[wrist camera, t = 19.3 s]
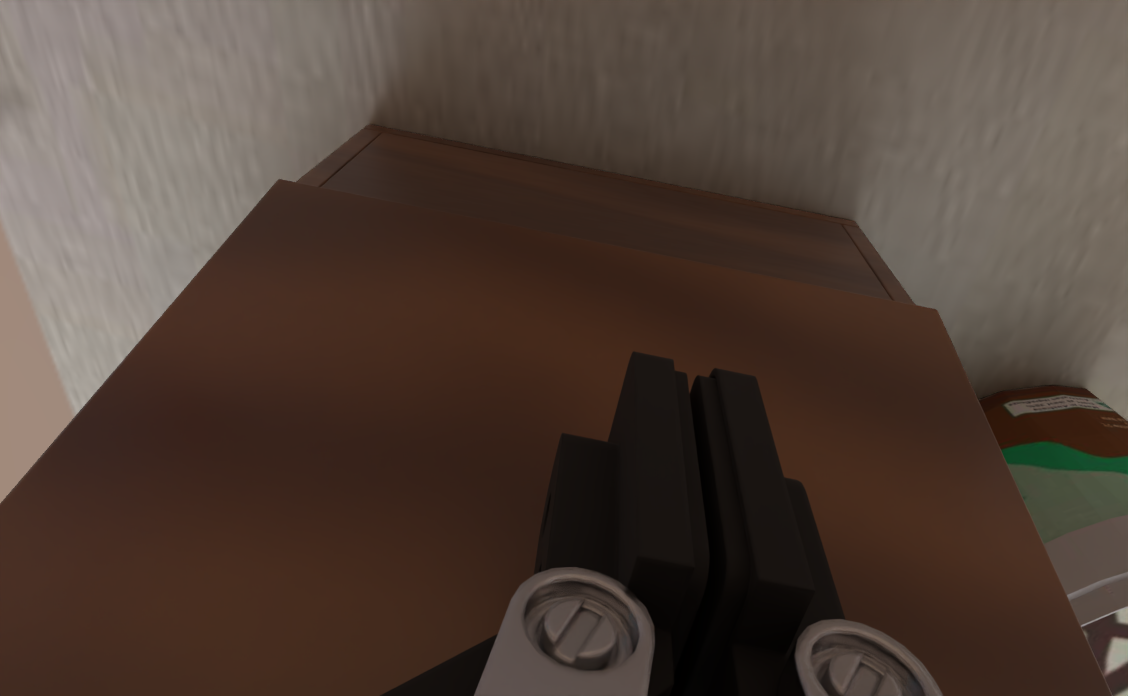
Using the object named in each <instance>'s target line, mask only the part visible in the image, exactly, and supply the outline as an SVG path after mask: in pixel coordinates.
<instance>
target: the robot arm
mask: <svg viewBox="0 0 1128 696" xmlns="http://www.w3.org/2000/svg"><path fill="white" fill-rule="evenodd" d="M380 696H943V694H942V692H941V691H940V689H939V687H938V685H937V683H936V682H935V680H934V679H933V677H932V676H931V675H930V673H929V672H928V670H927V669H926V668H925V666H924V665H923V664H922V662H921V661H920V660H919V659H917V658H916V657H915V656H914V655H913V654H912V653H911V652H910V651H909V650H908V649H907V648H906V647H905V646H903V645H902V644H900V643H899V642H897V641H896V640H894V639H893V638H891V637H890V636H888V635H887V634H885V633H883V632H881V631H879V630H877V629H874V628H872V627H869V626H867V625H865V624H862V623H858V622H853V621H848V620H846V619H845V616H844V613H843V609H842V606H841V603H840V600H839V596H838V593H837V590H836V587H835V584H834V580H833V577H832V574H831V571H830V567H829V564H828V561H827V558H826V554H825V551H824V548H823V545H822V541H821V538H820V535H819V532H818V528H817V525H816V522H815V519H814V515H813V512H812V509H811V506H810V502H809V499H808V496H807V493H806V490H805V488H804V486H803V484H802V482H800V481H798V480H796V479H791V478H786V477H784V475H783V472H782V468H781V464H780V461H779V457H778V453H777V450H776V446H775V443H774V439H773V435H772V432H771V428H770V425H769V421H768V417H767V414H766V410H765V407H764V403H763V399H762V396H761V392H760V388H759V385H758V381H757V379H756V377H755V376H752V375H747V374H742V373H738V372H733V371H728V370H723V369H718V368H714V369H713V370H712V371H711V373H710V375H709V377H705V376H700V375H697V376H696V378H695V379H694V382H693V385H692V388H691V391H690V394H689V386H688V378H687V373H685V372H680V371H676V370H675V368H674V361H673V359H669V358H664V357H659V356H654V355H649V354H644V353H639V352H635V351H633V352H632V354H631V357H630V360H629V363H628V367H627V370H626V374H625V378H624V382H623V385H622V389H621V393H620V397H619V400H618V404H617V408H616V412H615V415H614V419H613V423H612V427H611V431H610V434H609V438H608V442H606V441H601V440H596V439H591V438H586V437H581V436H576V435H571V434H566V433H562V434H561V437H560V440H559V444H558V448H557V452H556V456H555V461H554V465H553V469H552V474H551V478H550V483H549V487H548V492H547V497H546V502H545V507H544V512H543V517H542V523H541V528H540V534H539V541H538V548H537V555H536V562H535V569H534V575H533V576H532V577H530V578H529V579H528V580H526V581H525V582H523V583H522V584H521V585H520V586H519V588H518V589H517V591H516V593H515V594H514V596H513V597H512V599H511V601H510V604H509V606H508V609H507V611H506V614H505V617H504V619H503V622H502V624H501V627H500V630H499V632H498V634H496V635H494V636H492V637H490V638H488V639H487V640H485V641H483V642H481V643H479V644H477V645H475V646H473V647H471V648H469V649H468V650H466V651H464V652H462V653H460V654H458V655H456V656H454V657H452V658H450V659H448V660H447V661H445V662H443V663H441V664H439V665H437V666H435V667H433V668H431V669H429V670H428V671H426V672H424V673H422V674H420V675H418V676H416V677H414V678H412V679H410V680H408V681H407V682H405V683H403V684H401V685H399V686H397V687H395V688H393V689H391V690H389V691H388V692H386V693H384V694H382V695H380Z"/></svg>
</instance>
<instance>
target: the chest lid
mask: <svg viewBox="0 0 1128 696" xmlns="http://www.w3.org/2000/svg"><path fill="white" fill-rule="evenodd" d="M633 351H635V352H639V353H644V354H649V355H654V356H659V357H664V358H669V359H673V361H674V368H675V370H676V371H680V372H685V373H687V378H688V386H689V394H690V391H691V388H692V385H693V382H694V379H695V378H696V376H697V375H700V376H705V377H709V375H710V373H711V371H712V370H713V369H714V368H718V369H723V370H728V371H733V372H738V373H742V374H747V375H752V376H755V377H756V379H757V381H758V385H759V388H760V392H761V396H762V399H763V403H764V407H765V410H766V414H767V417H768V421H769V425H770V428H771V432H772V435H773V439H774V443H775V446H776V450H777V453H778V457H779V461H780V464H781V468H782V472H783V475H784V477H786V478H791V479H796V480H798V481H800V482H802V484H803V486H804V488H805V490H806V493H807V496H808V499H809V502H810V506H811V509H812V512H813V515H814V519H815V522H816V525H817V528H818V532H819V535H820V538H821V541H822V545H823V548H824V551H825V554H826V558H827V561H828V564H829V567H830V571H831V574H832V577H833V580H834V584H835V587H836V590H837V593H838V596H839V600H840V603H841V606H842V609H843V613H844V616H845V619H846V620H848V621H853V622H858V623H862V624H865V625H867V626H869V627H872V628H874V629H877V630H879V631H881V632H883V633H885V634H887V635H888V636H890V637H891V638H893V639H894V640H896V641H897V642H899V643H900V644H902V645H903V646H905V647H906V648H907V649H908V650H909V651H910V652H911V653H912V654H913V655H914V656H915V657H916V658H917V659H919V660H920V661H921V662H922V664H923V665H924V666H925V668H926V669H927V670H928V672H929V673H930V675H931V676H932V677H933V679H934V680H935V682H936V683H937V685H938V687H939V689H940V691H941V692H942V694H943V696H1113V695H1112V693H1111V691H1110V689H1109V687H1108V684H1107V682H1106V680H1105V678H1104V676H1103V673H1102V671H1101V669H1100V667H1099V665H1098V662H1097V660H1096V658H1095V656H1094V654H1093V651H1092V649H1091V647H1090V645H1089V643H1088V640H1087V638H1086V636H1085V634H1084V632H1083V629H1082V627H1081V625H1080V623H1079V621H1078V618H1077V616H1076V614H1075V612H1074V610H1073V608H1072V605H1071V603H1070V601H1069V599H1068V597H1067V594H1066V592H1065V590H1064V588H1063V586H1062V583H1061V581H1060V579H1059V577H1058V575H1057V572H1056V570H1055V568H1054V566H1053V564H1052V561H1051V559H1050V557H1049V555H1048V553H1047V550H1046V548H1045V546H1044V544H1043V542H1042V539H1041V537H1040V535H1039V533H1038V531H1037V528H1036V526H1035V524H1034V522H1033V520H1032V517H1031V515H1030V513H1029V511H1028V509H1027V506H1026V504H1025V502H1024V500H1023V498H1022V495H1021V493H1020V491H1019V489H1018V487H1017V484H1016V482H1015V480H1014V478H1013V476H1012V473H1011V471H1010V469H1009V467H1008V465H1007V462H1006V460H1005V458H1004V456H1003V454H1002V451H1001V449H1000V447H999V445H998V443H997V440H996V438H995V436H994V434H993V432H992V429H991V427H990V425H989V423H988V421H987V418H986V416H985V414H984V412H983V410H982V407H981V405H980V403H979V401H978V399H977V396H976V394H975V392H974V390H973V388H972V385H971V383H970V381H969V379H968V377H967V374H966V372H965V370H964V368H963V366H962V363H961V361H960V359H959V357H958V355H957V352H956V350H955V348H954V346H953V344H952V341H951V339H950V337H949V335H948V333H947V330H946V328H945V326H944V324H943V322H942V319H941V317H940V315H939V313H938V311H937V310H936V309H932V308H927V307H922V306H917V305H912V304H907V303H902V302H897V301H892V300H887V299H882V298H877V297H871V296H866V295H861V294H856V293H851V292H846V291H841V290H836V289H831V288H826V287H821V286H816V285H811V284H806V283H801V282H796V281H791V280H786V279H781V278H776V277H771V276H766V275H761V274H756V273H751V272H745V271H740V270H735V269H730V268H725V267H720V266H715V265H710V264H705V263H700V262H695V261H690V260H685V259H680V258H675V257H670V256H665V255H660V254H655V253H650V252H645V251H640V250H635V249H630V248H625V247H619V246H614V245H609V244H604V243H599V242H594V241H589V240H584V239H579V238H574V237H569V236H564V235H559V234H554V233H549V232H544V231H539V230H534V229H529V228H524V227H519V226H514V225H509V224H504V223H499V222H494V221H488V220H483V219H478V218H473V217H468V216H463V215H458V214H453V213H448V212H443V211H438V210H433V209H428V208H423V207H418V206H413V205H408V204H403V203H398V202H393V201H388V200H383V199H378V198H373V197H368V196H362V195H357V194H352V193H347V192H342V191H337V190H332V189H327V188H322V187H317V186H312V185H307V184H302V183H297V182H292V181H287V180H282V179H279V180H277V182H276V183H275V184H274V185H273V186H272V187H271V189H270V190H269V191H268V192H267V193H266V194H265V196H264V197H263V198H262V199H261V200H260V201H259V203H258V204H257V205H256V206H255V207H254V208H253V210H252V211H251V212H250V213H249V214H248V215H247V217H246V218H245V219H244V220H243V221H242V222H241V224H240V225H239V226H238V227H237V228H236V229H235V231H234V232H233V233H232V234H231V235H230V236H229V238H228V239H227V240H226V241H225V242H224V243H223V245H222V246H221V247H220V248H219V249H218V250H217V252H216V253H215V254H214V255H213V256H212V257H211V259H210V260H209V261H208V262H207V263H206V264H205V266H204V267H203V268H202V269H201V270H200V271H199V273H198V274H197V275H196V276H195V277H194V278H193V280H192V281H191V282H190V283H189V284H188V285H187V287H186V288H185V289H184V290H183V291H182V292H181V294H180V295H179V296H178V297H177V298H176V299H175V301H174V302H173V303H172V304H171V305H170V306H169V308H168V309H167V310H166V311H165V312H164V313H163V315H162V316H161V317H160V318H159V319H158V320H157V322H156V323H155V324H154V325H153V326H152V327H151V329H150V330H149V331H148V332H147V333H146V334H145V336H144V337H143V338H142V339H141V340H140V341H139V343H138V344H137V345H136V346H135V347H134V348H133V350H132V351H131V352H130V353H129V354H128V355H127V357H126V358H125V359H124V360H123V361H122V362H121V364H120V365H119V366H118V367H117V368H116V369H115V371H114V372H113V373H112V374H111V375H110V376H109V378H108V379H107V380H106V381H105V382H104V383H103V385H102V386H101V387H100V388H99V389H98V390H97V392H96V393H95V394H94V395H93V396H92V397H91V399H90V400H89V401H88V402H87V403H86V404H85V406H84V407H83V408H82V409H81V410H80V411H79V413H78V414H77V415H76V416H75V417H74V418H73V420H72V421H71V422H70V423H69V424H68V425H67V427H66V428H65V429H64V430H63V431H62V432H61V434H60V435H59V436H58V437H57V438H56V439H55V440H54V442H53V443H52V444H51V445H50V446H49V448H48V449H47V450H46V451H45V452H44V453H43V455H42V456H41V457H40V458H39V459H38V460H37V462H36V463H35V464H34V465H33V466H32V467H31V469H30V470H29V471H28V472H27V473H26V475H25V476H24V477H23V478H22V479H21V480H20V481H19V483H18V484H17V485H16V486H15V487H14V488H13V489H12V491H11V492H10V493H9V494H8V495H7V496H6V498H5V499H4V500H3V501H2V502H1V503H0V696H380V695H382V694H384V693H386V692H388V691H389V690H391V689H393V688H395V687H397V686H399V685H401V684H403V683H405V682H407V681H408V680H410V679H412V678H414V677H416V676H418V675H420V674H422V673H424V672H426V671H428V670H429V669H431V668H433V667H435V666H437V665H439V664H441V663H443V662H445V661H447V660H448V659H450V658H452V657H454V656H456V655H458V654H460V653H462V652H464V651H466V650H468V649H469V648H471V647H473V646H475V645H477V644H479V643H481V642H483V641H485V640H487V639H488V638H490V637H492V636H494V635H496V634H498V632H499V630H500V627H501V624H502V622H503V619H504V617H505V614H506V611H507V609H508V606H509V604H510V601H511V599H512V597H513V596H514V594H515V593H516V591H517V589H518V588H519V586H520V585H521V584H522V583H523V582H525V581H526V580H528V579H529V578H530V577H532V576H533V575H534V569H535V562H536V555H537V548H538V541H539V534H540V528H541V523H542V517H543V512H544V507H545V502H546V497H547V492H548V487H549V483H550V478H551V474H552V469H553V465H554V461H555V456H556V452H557V448H558V444H559V440H560V437H561V434H562V433H566V434H571V435H576V436H581V437H586V438H591V439H596V440H601V441H606V442H608V438H609V434H610V431H611V427H612V423H613V419H614V415H615V412H616V408H617V404H618V400H619V397H620V393H621V389H622V385H623V382H624V378H625V374H626V370H627V367H628V363H629V360H630V357H631V354H632V352H633Z"/></svg>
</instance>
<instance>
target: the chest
mask: <svg viewBox="0 0 1128 696" xmlns="http://www.w3.org/2000/svg"><path fill="white" fill-rule="evenodd" d="M296 182H297V183H302V184H307V185H312V186H317V187H322V188H327V189H332V190H337V191H342V192H347V193H352V194H357V195H362V196H368V197H373V198H378V199H383V200H388V201H393V202H398V203H403V204H408V205H413V206H418V207H423V208H428V209H433V210H438V211H443V212H448V213H453V214H458V215H463V216H468V217H473V218H478V219H483V220H488V221H494V222H499V223H504V224H509V225H514V226H519V227H524V228H529V229H534V230H539V231H544V232H549V233H554V234H559V235H564V236H569V237H574V238H579V239H584V240H589V241H594V242H599V243H604V244H609V245H614V246H619V247H625V248H630V249H635V250H640V251H645V252H650V253H655V254H660V255H665V256H670V257H675V258H680V259H685V260H690V261H695V262H700V263H705V264H710V265H715V266H720V267H725V268H730V269H735V270H740V271H745V272H751V273H756V274H761V275H766V276H771V277H776V278H781V279H786V280H791V281H796V282H801V283H806V284H811V285H816V286H821V287H826V288H831V289H836V290H841V291H846V292H851V293H856V294H861V295H866V296H871V297H877V298H882V299H887V300H892V301H897V302H902V303H907V304H912V305H915V304H914V302H913V301H912V299H911V298H910V297H909V295H908V294H907V292H906V291H905V290H904V288H903V287H902V286H901V284H900V283H899V281H898V280H897V279H896V277H895V276H894V275H893V273H892V272H891V270H890V269H889V268H888V266H887V265H886V263H885V262H884V261H883V259H882V258H881V257H880V255H879V254H878V252H877V251H876V250H875V248H874V247H873V245H872V244H871V243H870V241H869V240H868V239H867V237H866V236H865V234H864V233H863V232H862V230H861V229H860V228H859V226H858V225H857V223H856V222H855V221H850V220H846V219H841V218H836V217H831V216H826V215H821V214H816V213H811V212H806V211H801V210H796V209H791V208H786V207H781V206H776V205H771V204H766V203H761V202H756V201H751V200H746V199H741V198H736V197H731V196H726V195H721V194H716V193H711V192H706V191H701V190H696V189H691V188H686V187H681V186H676V185H671V184H666V183H661V182H656V181H651V180H646V179H641V178H636V177H631V176H626V175H621V174H616V173H611V172H606V171H601V170H596V169H591V168H586V167H581V166H576V165H571V164H566V163H561V162H556V161H551V160H546V159H541V158H536V157H531V156H526V155H521V154H516V153H511V152H506V151H501V150H496V149H491V148H486V147H481V146H476V145H471V144H466V143H461V142H456V141H451V140H446V139H441V138H436V137H431V136H426V135H421V134H416V133H411V132H406V131H401V130H396V129H391V128H386V127H381V126H376V125H371V124H369V125H367V126H366V127H365V128H364V129H362V130H360V131H359V132H358V133H357V134H355V135H354V136H353V137H352V138H350V139H349V140H348V141H347V142H345V143H344V144H343V145H342V146H340V147H339V148H338V149H337V150H335V151H334V152H333V153H332V154H330V155H329V156H328V157H327V158H325V159H324V160H323V161H322V162H320V163H319V164H318V165H316V166H315V167H314V168H313V169H311V170H310V171H309V172H308V173H306V174H305V175H304V176H303V177H301V178H300V179H299V180H298V181H296Z"/></svg>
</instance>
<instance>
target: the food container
mask: <svg viewBox="0 0 1128 696" xmlns="http://www.w3.org/2000/svg"><path fill="white" fill-rule="evenodd" d="M978 401H979V403H980V405H981V407H982V410H983V412H984V414H985V416H986V418H987V421H988V423H989V425H990V427H991V429H992V432H993V434H994V436H995V438H996V440H997V443H998V445H999V447H1000V449H1001V451H1002V454H1003V456H1004V458H1005V460H1006V462H1007V465H1008V467H1009V469H1010V471H1011V473H1012V476H1013V478H1014V480H1015V482H1016V484H1017V487H1018V489H1019V491H1020V493H1021V495H1022V498H1023V500H1024V502H1025V504H1026V506H1027V509H1028V511H1029V513H1030V515H1031V517H1032V520H1033V522H1034V524H1035V526H1036V528H1037V531H1038V533H1039V535H1040V537H1041V539H1042V542H1043V544H1044V546H1045V548H1046V550H1047V553H1048V555H1049V557H1050V559H1051V561H1052V564H1053V566H1054V568H1055V570H1056V572H1057V575H1058V577H1059V579H1060V581H1061V583H1062V586H1063V588H1064V590H1065V592H1066V594H1067V597H1068V599H1069V601H1070V603H1071V605H1072V608H1073V610H1074V612H1075V614H1076V616H1077V618H1078V621H1079V623H1080V625H1081V627H1082V629H1083V632H1084V634H1085V636H1086V638H1087V640H1088V643H1089V645H1090V647H1091V649H1092V651H1093V654H1094V656H1095V658H1096V660H1097V662H1098V665H1099V667H1100V669H1101V671H1102V673H1103V676H1104V678H1105V680H1106V682H1107V684H1108V687H1109V689H1110V691H1111V693H1112V695H1113V696H1128V421H1127V420H1125V419H1124V418H1123V417H1121V416H1120V415H1119V414H1118V413H1116V412H1115V411H1114V410H1113V409H1111V408H1110V407H1109V406H1107V405H1106V404H1105V403H1104V402H1102V401H1101V400H1100V399H1099V398H1097V397H1096V396H1095V395H1094V394H1092V393H1091V392H1090V391H1088V390H1087V389H1082V388H1073V387H1064V386H1054V385H1049V386H1041V387H1032V388H1024V389H1016V390H1008V391H1001V392H999V393H996V394H993V395H991V396H988V397H985V398H983V399H980V400H978Z"/></svg>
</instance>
